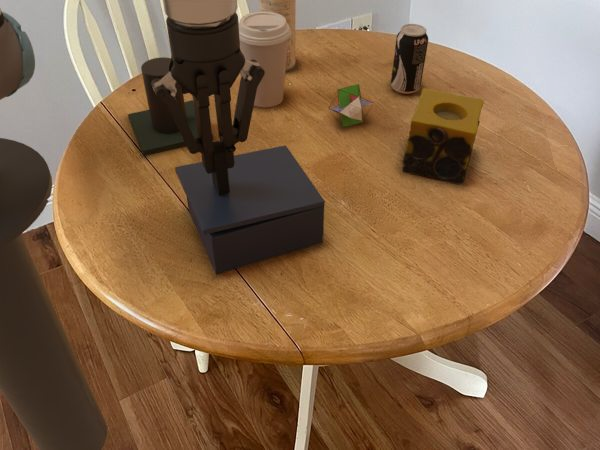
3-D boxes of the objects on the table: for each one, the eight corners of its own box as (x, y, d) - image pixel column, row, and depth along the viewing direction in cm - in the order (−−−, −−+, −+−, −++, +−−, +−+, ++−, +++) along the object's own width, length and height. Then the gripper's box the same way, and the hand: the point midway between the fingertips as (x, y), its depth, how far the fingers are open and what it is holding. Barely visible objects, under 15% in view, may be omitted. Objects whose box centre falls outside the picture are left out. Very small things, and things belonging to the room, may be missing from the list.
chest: (216, 274, 78) (211, 238, 73) (188, 211, 87) (182, 175, 82) (322, 242, 82) (324, 206, 77) (286, 185, 91) (285, 150, 86)
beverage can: (392, 79, 115) (400, 20, 107) (421, 83, 114) (431, 24, 106) (387, 93, 111) (395, 33, 103) (418, 98, 110) (428, 38, 102)
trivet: (128, 118, 104) (127, 113, 104) (194, 104, 108) (193, 100, 107) (143, 156, 96) (142, 151, 96) (213, 139, 100) (212, 134, 99)
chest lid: (203, 235, 72) (203, 230, 71) (175, 171, 81) (175, 166, 80) (324, 206, 77) (325, 201, 77) (285, 149, 86) (285, 144, 86)
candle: (413, 138, 101) (421, 86, 94) (472, 150, 98) (485, 98, 91) (399, 172, 94) (408, 119, 87) (463, 186, 91) (477, 133, 84)
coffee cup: (232, 106, 107) (225, 28, 97) (251, 81, 114) (247, 6, 104) (281, 116, 105) (279, 37, 95) (298, 90, 112) (298, 13, 102)
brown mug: (157, 137, 99) (145, 78, 91) (149, 118, 103) (137, 61, 95) (199, 127, 101) (192, 69, 93) (190, 109, 105) (182, 53, 97)
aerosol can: (302, 64, 119) (303, -38, 106) (279, 76, 116) (278, -27, 102) (277, 53, 123) (275, -47, 109) (254, 65, 119) (249, -37, 105)
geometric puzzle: (319, 100, 105) (333, 81, 98) (352, 92, 107) (368, 72, 100) (333, 137, 104) (348, 120, 97) (366, 128, 107) (384, 111, 99)
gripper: (248, -10, 65) (257, 160, 82) (131, 9, 62) (165, 183, 78) (273, 17, 60) (277, 192, 77) (147, 39, 57) (180, 218, 73)
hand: (221, 187), depth 77 cm, fingers closed
